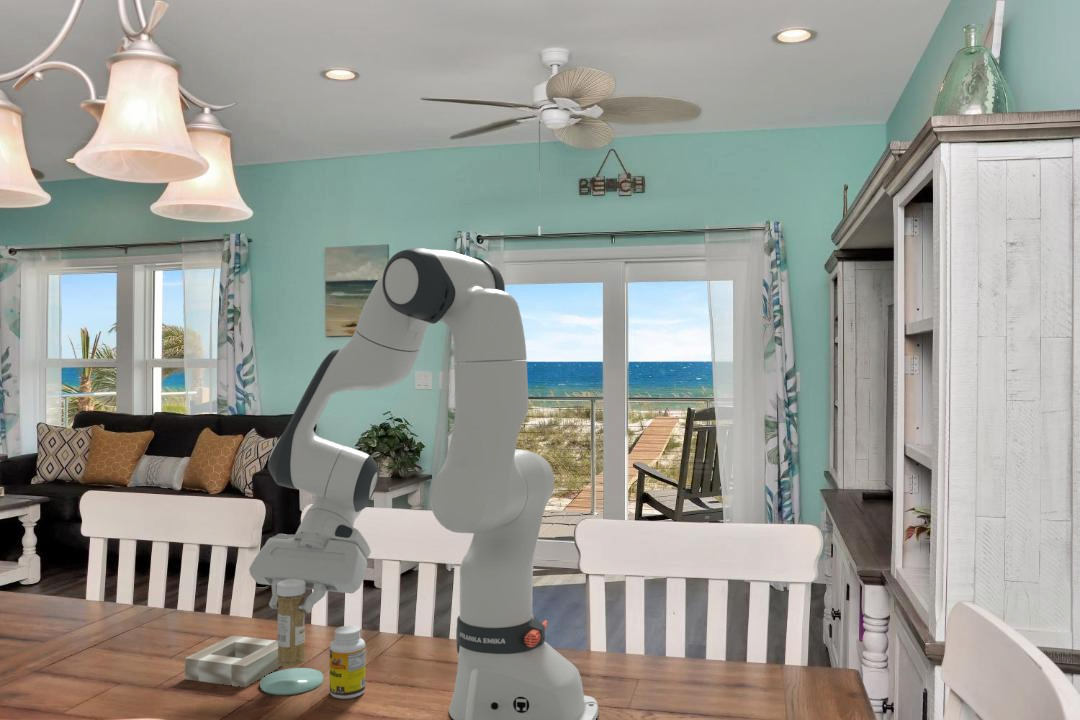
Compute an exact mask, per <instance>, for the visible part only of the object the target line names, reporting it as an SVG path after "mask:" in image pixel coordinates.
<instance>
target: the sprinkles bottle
mask: <svg viewBox="0 0 1080 720" xmlns="http://www.w3.org/2000/svg"><path fill="white" fill-rule="evenodd" d="M306 591H307V589H306V582H305V581H304V580H299V579H286V580H282V581H280V582H278V584H277V595H278V609H277V641H278V660H277V663H278V664H279V665H280V666H282V667H285V668H290V667H298V666H299V665H302V664H303V663H304V662H305V661H306V653H305V648H306V647H305V644H306V642H305V641H306V630H305V629H306V625H305V624H306V623H305V622H306V619H305V618H306V617H305V616H306V614H305V612H301V610H299V604H300V603H301V600H302V598H305V596H306Z"/></svg>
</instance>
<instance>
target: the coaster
mask: <svg viewBox="0 0 1080 720" xmlns="http://www.w3.org/2000/svg"><path fill="white" fill-rule="evenodd" d="M323 682H324V674H323V673H322V672H321V671H320V670H317V669H314V668H311V667H310V668H309V667H308V668H307V667H293V668H285V669H280V670H277V671H276V670H275V671H273V672H272V673H270V674H268V675H266V676H265V677H263V678H261V679H260V681H259V689H260V688H261V689H260V690H261V691H262V692H263V693H266V694H269V695H275V696H288V695H289V696H290V695H291V696H292V695H297V694H302V693H306V692H309V691H312V690H314V689H316V688H318V687H320V686H321V685H322V684H323Z"/></svg>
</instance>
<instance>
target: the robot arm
mask: <svg viewBox="0 0 1080 720" xmlns="http://www.w3.org/2000/svg"><path fill="white" fill-rule="evenodd" d="M505 291H506V287H505V281H504V278H503V276H502V274H501V272H500V271H499V269H498V268H497V267H496V266H495V265H493V264H492V263H490V262H489V261H487V260H485V259H482V258H480V257H473V256H472V257H471V256H468V255H466V254H461V253H457V252H456V251H451V250H445V249H427V248H424V247H415V248H414V247H413V248H407V249H403V250H400V251H398V252H396V253H395V254H394V255H392V256H391V258H389V260H388V261H387V263H386V265H385V267H384V270H383V273H382V276H381V277H380V278H379V279H378V280H376V282H375V284H374V286H373V288H372V289H371V291H370V293H369V295H368V297H367V299H366V301H365V304H364V305H363V308H362V311H361V313H360V316H359V318H358V320H357V324H356V327H355V329H354V332H353V335H352V337H351V338H350V340H349V341H348V342H347V344H345V346H344V347H342V348H340V349H333V350H332V351H330V352H329V353H328V354H327V355H326V356H325V357H324V359H323V360H322V361H321V363H320V365H319V367H318V368H317V370H316V372H315V374H314V375H313V376H312V378H311V380H310V381H309V384H308V386H307V388H306V390H305V391H304V394H303V395H302V397H301V398H300V401H299V402H298V404H297V407H296V408H295V411H294V413H293V414H292V417H290V420H289V422H288V424H287V426H286V428H285V430H284V431H283V433H282V434H281V436H280V437H279V438H278V439H277V440H276V442H275V444H274V446H273V447H272V449H271V451H270V453H269V457H268V463H267V468H268V471H269V473H270V475H271V477H272V478H273V480H274V482H275V483H276V485H278V486H281V487H284V488H289V489H294V490H299V491H303V492H306V493H308V494H311V495H314V497H313V498H314V500H313V503H312V505H311V506H310V507H309V508H308V509H307V511H306V512H305V514H304V516H303V518H302V520H301V522H300V524H299V526H298V528H297V531H296V532H295V534H285V533H277V534H276V535H273V536H272V537H269V538H268V539H267V540H266V542H265V544H264V545H263V546H262V547H261V549H260V550H259V552H257V555H256V556H255V557H254V559H253V561H252V563H251V564H250V565H249V569H248V571H249V575H250V576H251V578H252V579H253V580H254V581H255V582H256V583H257V584H260V585H267V586H271V592H272V593H271V594H272V595H271V598H270V600H269V603H268V606H269V607H270V608H271V609H272V610H278V595H277V584H278V582H280V581H282V580H286V579H299V580H304V581H305V582H306V590H313V591H312V592H311V593H310V594H309V595H308V596H307V597H306V598H302V600H301V603H300V604H299V610H301V612H304V613H306V614H310V613H311V612H312V609H313V608H314V606H315V605H316V604H317V603H319V601H320V600H322V599H323V598H324V597H325V595H326V594H327V592H334V593H343V594H354V593H355V592H357V591H358V590H359V589H360V587H361V586H362V583H363V580H364V578H365V576H366V571H367V569H368V568H367V567H368V561H367V559H368V558H369V556H370V555H371V553H372V549H371V547H370V545H369V543H368V541H367V540H366V538H365V537H364V536H363V534H362V532H360V530H359V529H358V528H355V527H354V524H355V521H356V519H357V518H358V516H360V514H361V512H362V511H363V510H364V509H366V508H368V507H369V504H370V503H371V500H372V497H373V495H374V493H375V490H376V488H377V486H378V484H379V480H380V470H379V468H378V467H379V466H378V465H377V463H376V461H375V459H374V458H373V456H372V455H371V454H368V453H367V452H364V451H362V450H358V449H356V448H353V447H350V446H347V445H345V444H344V445H343V444H340V443H338V442H335V441H332V440H330V439H329V440H328V439H326V438H324V437H320V436H319V435H317V434H316V433H315V431H314V428H315V426H316V425H317V423H318V421H319V418H320V416H321V415H322V413H323V411H324V409H325V408H326V406H327V404H328V402H329V400H330V398H331V397H332V395H334V394H337V393H340V392H344V391H354V390H355V391H365V390H367V391H375V390H381V389H386V388H389V387H393V386H395V385H397V384H399V383H401V382H403V381H404V380H405V379H406V378H407V377H408V376H409V374H410V373H411V371H412V369H413V368H414V364H416V363H415V362H416V360H417V358H418V355H419V352H420V349H421V346H422V343H423V339H424V337H425V333H426V331H427V328H428V326H429V325H430V324H433V325H434V324H437V323H439V322H442V323H444V324H445V325H446V326H447V327H448V328H449V330H450V332H451V333H452V339H453V356H454V357H453V361H454V364H453V365H454V401H455V405H454V406H455V408H454V409H455V410H454V419H453V420H454V422H453V428H452V433H451V438H450V442H449V445H448V449H447V453H446V457H445V460H444V463H443V465H442V467H441V469H440V470H439V472H438V473H437V475H436V476H435V477H434V479H433V480H432V483H431V487H430V490H429V502H430V508H431V511H432V513H433V516H434V518H435V519H436V521H437V522H438V523H439V524H440V526H442V527H443V528H445V530H448V531H450V532H453V533H457V534H458V533H459V534H473V535H472V539H471V543H470V545H469V548H468V550H467V552H466V553H465V555H464V557H463V559H462V560H461V563H460V567H459V615H458V617H457V619H456V630H455V631H456V633H455V641H456V652H457V654H458V657H457V668H456V676H455V683H454V688H453V693H452V699H451V702H450V703H449V704H450V705H449V708H448V714H449V715H450V717H451V719H453V720H596V718H597V719H598V717H599V712H598V711H599V703H598V702H597V700H596V699H595V698H594V696H590V695H585V693H584V689H583V688H584V687H583V681H582V677H581V674H580V672H579V670H578V668H577V667H576V666H575V664H573V663H572V662H570V661H569V660H568V659H566V658H565V657H564V656H563V655H562V654H561V653H560V652H558V651H557V650H555V649H554V648H553V646H551V645H550V644H549V643H548V642H546V629H547V628H548V625H547V624H548V620H547V619H545V620H543V622H541V621H540V620H539V619H538V618H537V617H536V616H535V614H533V589H534V587H533V581H534V580H533V579H534V577H533V576H534V562H535V557H536V556H535V554H536V549H537V543H538V540H539V539H538V538H539V535H540V531H541V526H542V522H543V516H544V514H545V510H546V507H547V505H548V503H549V501H550V499H551V497H552V495H553V493H554V489H555V474H554V472H553V468H552V466H551V465H550V463H549V462H548V461H547V459H545V458H544V457H543V456H542V455H540V454H538V453H536V452H533V451H530V450H525V449H518V448H517V443H518V438H519V434H520V430H521V427H522V424H523V423H524V421H525V420H526V418H527V416H528V412H529V386H528V385H529V383H528V382H529V381H528V363H527V346H526V337H525V331H524V326H523V320H522V316H521V311H520V307H519V305H518V302H517V300H516V299H515V297H513V296H512V295H511V294H510V293H508V292H505ZM597 716H598V717H597Z"/></svg>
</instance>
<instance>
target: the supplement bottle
mask: <svg viewBox="0 0 1080 720" xmlns="http://www.w3.org/2000/svg"><path fill="white" fill-rule="evenodd" d="M333 638H334V640H333V641H331V642H330V644H329V694H330V695H331V696H332V697H333V698H336V699H340V700H348V699H355V698H358V697H359V696H361V695H362V694H364V692H365V690H366V641H365V640H364V639H363V638H361V628H360V627H359V626H357V625H343V626H339V627H337V628H336V629H335V630H334V637H333Z"/></svg>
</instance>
